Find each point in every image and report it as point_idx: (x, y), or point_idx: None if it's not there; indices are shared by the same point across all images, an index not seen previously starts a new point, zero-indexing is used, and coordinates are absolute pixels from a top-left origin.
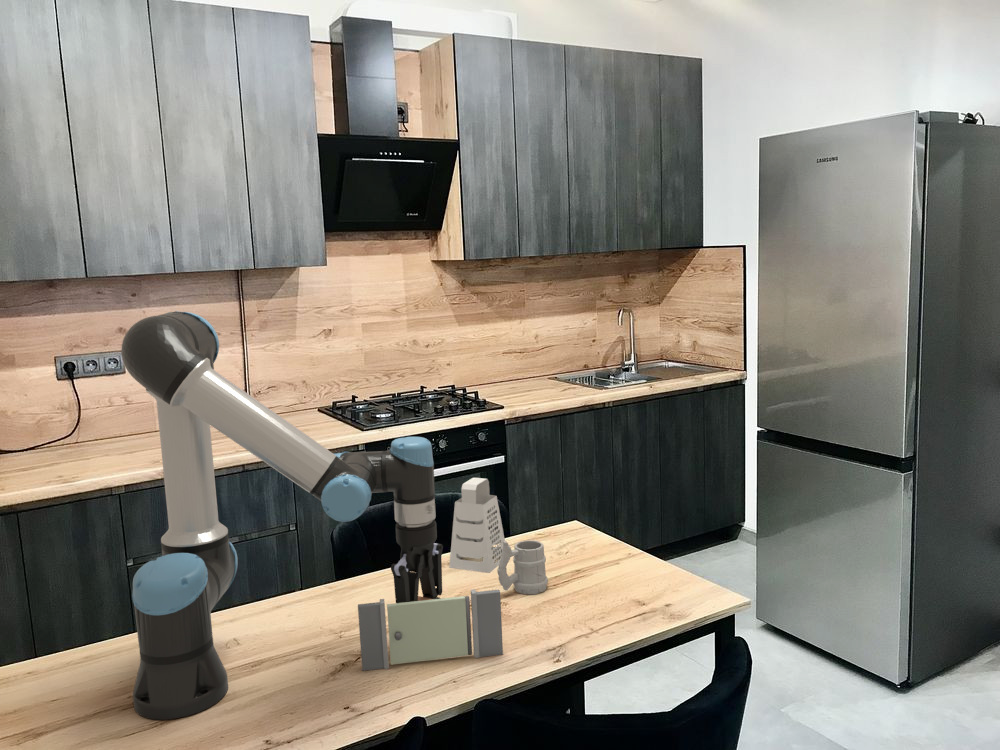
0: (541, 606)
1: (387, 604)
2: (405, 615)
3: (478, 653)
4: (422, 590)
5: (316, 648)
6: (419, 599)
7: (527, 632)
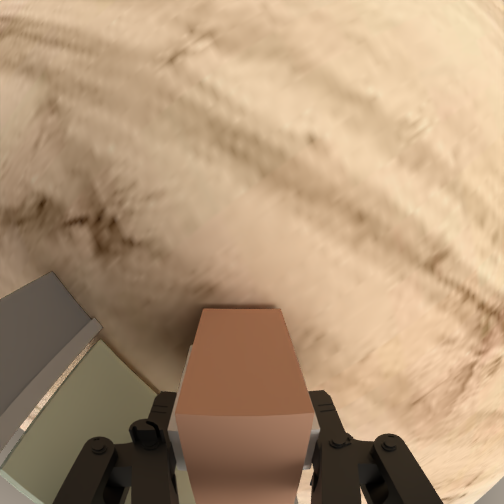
0: (478, 422)
1: (3, 471)
2: None
3: None
4: (322, 481)
5: (83, 60)
6: (267, 467)
7: None
